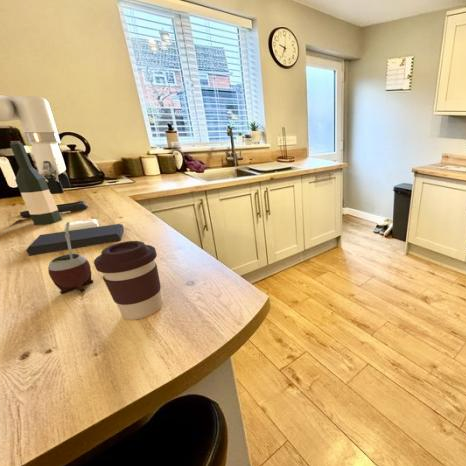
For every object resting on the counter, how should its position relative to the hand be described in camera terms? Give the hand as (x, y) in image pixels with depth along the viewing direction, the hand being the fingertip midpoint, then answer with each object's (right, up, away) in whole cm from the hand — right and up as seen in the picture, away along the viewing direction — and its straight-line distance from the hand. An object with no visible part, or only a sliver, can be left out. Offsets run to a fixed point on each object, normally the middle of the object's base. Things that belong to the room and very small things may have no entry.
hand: (61, 190), depth 99 cm
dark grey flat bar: (+10, -17, -4) cm, 21 cm away
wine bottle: (-19, -10, +14) cm, 25 cm away
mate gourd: (+33, -28, -29) cm, 52 cm away
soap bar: (+1, -13, +7) cm, 15 cm away
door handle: (-27, -5, +25) cm, 38 cm away
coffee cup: (+55, -32, -37) cm, 73 cm away
